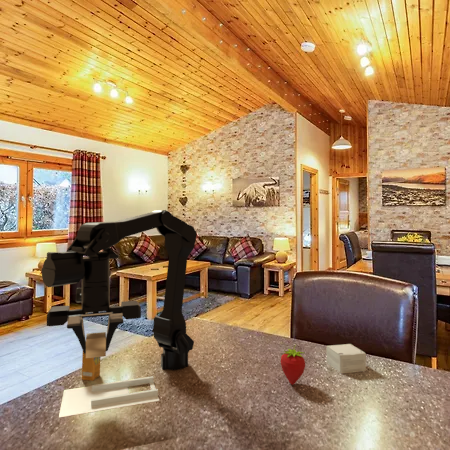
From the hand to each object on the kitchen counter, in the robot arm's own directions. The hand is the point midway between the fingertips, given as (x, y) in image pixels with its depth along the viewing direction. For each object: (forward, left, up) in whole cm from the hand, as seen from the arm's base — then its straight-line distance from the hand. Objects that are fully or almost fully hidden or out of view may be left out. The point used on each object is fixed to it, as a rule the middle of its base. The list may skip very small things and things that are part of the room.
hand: (96, 351), depth 77 cm
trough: (-3, -1, -12) cm, 12 cm away
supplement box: (+1, -12, -12) cm, 17 cm away
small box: (-65, +1, -12) cm, 67 cm away
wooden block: (0, 0, 0) cm, 0 cm away
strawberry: (-46, +5, -12) cm, 48 cm away
